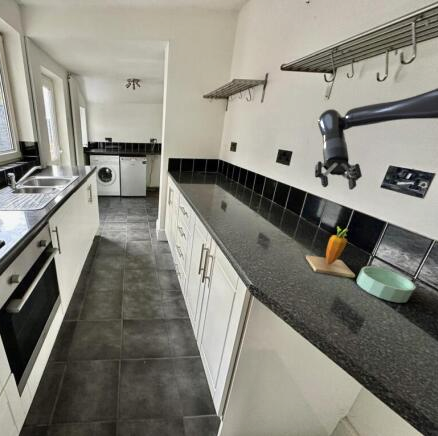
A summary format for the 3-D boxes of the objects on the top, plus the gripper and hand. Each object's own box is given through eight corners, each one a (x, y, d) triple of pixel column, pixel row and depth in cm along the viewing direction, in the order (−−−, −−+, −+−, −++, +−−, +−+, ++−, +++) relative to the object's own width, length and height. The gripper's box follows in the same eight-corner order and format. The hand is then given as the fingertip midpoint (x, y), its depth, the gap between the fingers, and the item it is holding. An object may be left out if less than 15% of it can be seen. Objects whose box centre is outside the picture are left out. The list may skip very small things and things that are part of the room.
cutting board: (340, 262, 89) (341, 260, 89) (354, 278, 80) (355, 275, 80) (305, 257, 92) (306, 255, 91) (315, 271, 83) (316, 268, 83)
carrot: (319, 259, 89) (332, 223, 83) (335, 262, 87) (350, 226, 81) (322, 265, 85) (336, 228, 79) (338, 269, 83) (354, 231, 77)
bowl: (390, 282, 79) (397, 270, 77) (418, 307, 68) (427, 293, 66) (348, 275, 81) (354, 263, 80) (369, 298, 70) (376, 285, 69)
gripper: (319, 145, 90) (322, 180, 84) (362, 147, 87) (368, 183, 81) (310, 157, 97) (312, 190, 91) (350, 159, 94) (354, 194, 88)
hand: (338, 187), depth 86 cm, fingers open, 8 cm apart
